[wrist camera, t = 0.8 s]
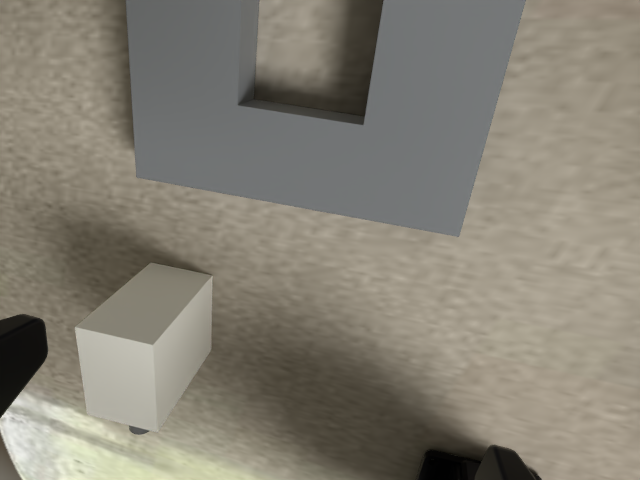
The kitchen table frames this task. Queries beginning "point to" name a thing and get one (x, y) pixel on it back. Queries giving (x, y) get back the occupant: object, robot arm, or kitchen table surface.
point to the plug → (145, 346)
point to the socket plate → (320, 125)
